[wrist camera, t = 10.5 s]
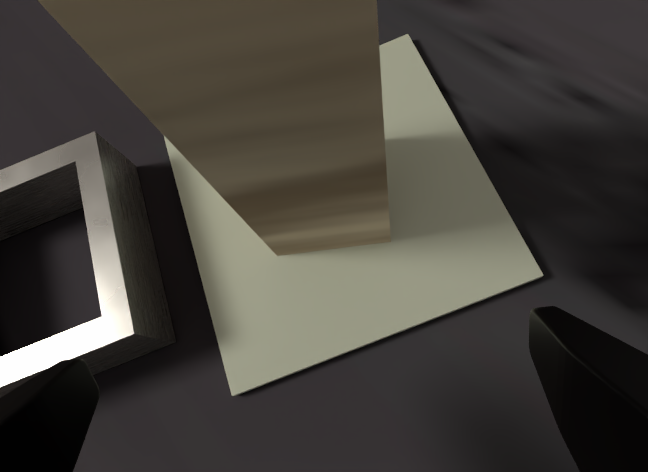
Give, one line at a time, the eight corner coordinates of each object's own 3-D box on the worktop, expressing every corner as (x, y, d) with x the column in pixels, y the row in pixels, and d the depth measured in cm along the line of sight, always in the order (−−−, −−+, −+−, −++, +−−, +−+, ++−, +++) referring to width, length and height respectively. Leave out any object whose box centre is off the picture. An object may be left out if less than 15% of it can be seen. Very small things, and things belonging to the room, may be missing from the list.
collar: (176, 342, 18) (134, 333, 15) (-18, 418, 18) (-96, 424, 15) (136, 165, 21) (94, 131, 18) (-30, 233, 21) (-97, 210, 18)
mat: (540, 278, 16) (543, 275, 16) (235, 395, 17) (231, 395, 16) (408, 40, 20) (408, 33, 20) (167, 138, 21) (163, 134, 20)
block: (390, 241, 17) (369, -114, 5) (277, 255, 18) (6, -33, 6) (376, 139, 19) (334, -326, 6) (272, 155, 19) (52, -245, 7)
